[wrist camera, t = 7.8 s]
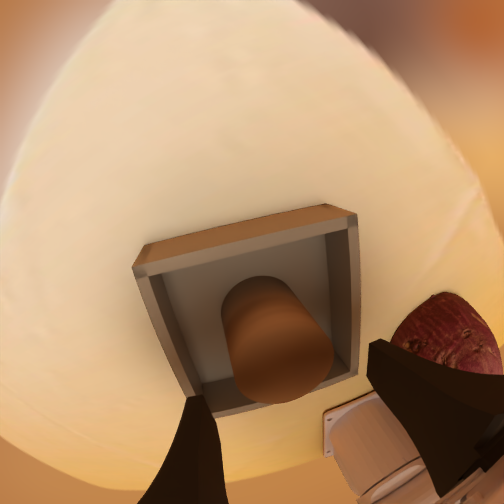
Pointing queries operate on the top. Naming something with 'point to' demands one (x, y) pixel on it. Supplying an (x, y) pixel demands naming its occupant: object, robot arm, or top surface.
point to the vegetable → (450, 335)
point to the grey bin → (238, 269)
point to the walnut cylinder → (273, 341)
